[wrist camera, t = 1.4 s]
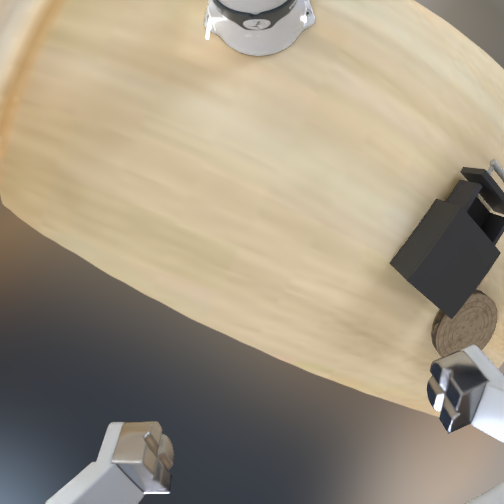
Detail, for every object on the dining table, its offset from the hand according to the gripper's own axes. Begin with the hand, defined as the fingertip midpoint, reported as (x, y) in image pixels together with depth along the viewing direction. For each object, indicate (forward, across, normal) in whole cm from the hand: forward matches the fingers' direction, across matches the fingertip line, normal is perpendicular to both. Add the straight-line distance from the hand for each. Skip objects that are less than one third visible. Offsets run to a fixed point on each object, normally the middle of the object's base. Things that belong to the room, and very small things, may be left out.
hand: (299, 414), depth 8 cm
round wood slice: (+40, -38, +36) cm, 66 cm away
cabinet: (+42, -31, +19) cm, 55 cm away
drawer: (+41, -39, +11) cm, 58 cm away
